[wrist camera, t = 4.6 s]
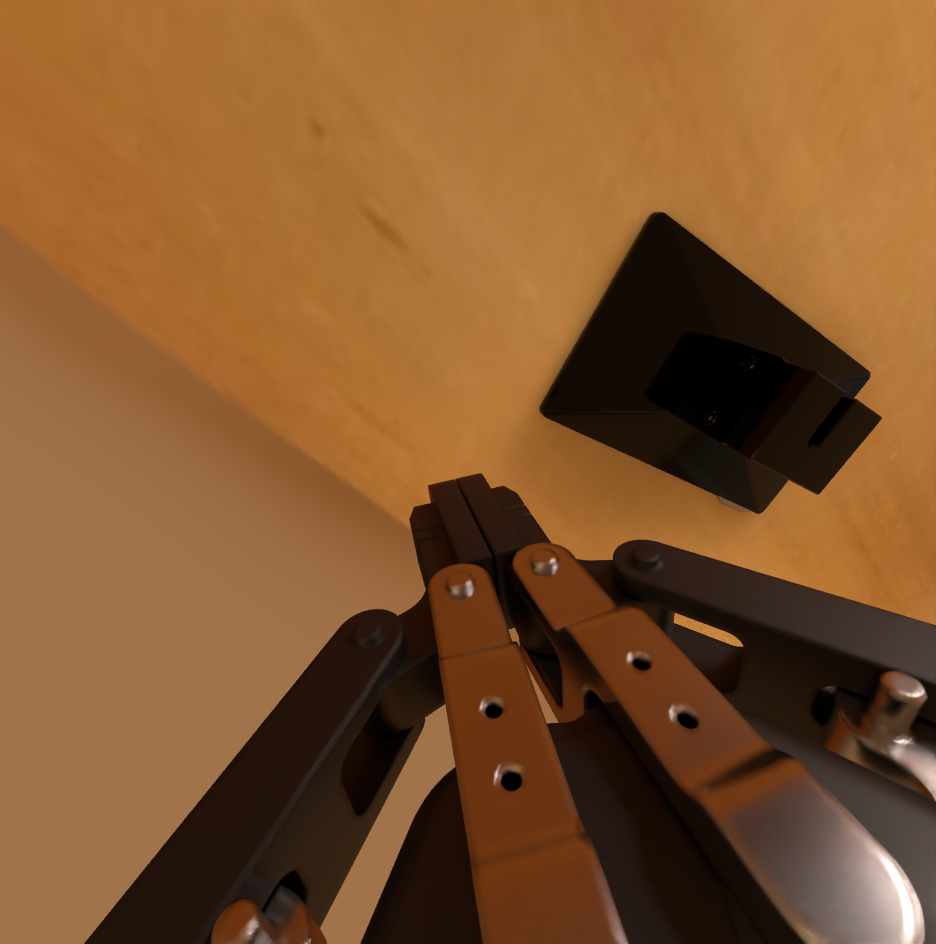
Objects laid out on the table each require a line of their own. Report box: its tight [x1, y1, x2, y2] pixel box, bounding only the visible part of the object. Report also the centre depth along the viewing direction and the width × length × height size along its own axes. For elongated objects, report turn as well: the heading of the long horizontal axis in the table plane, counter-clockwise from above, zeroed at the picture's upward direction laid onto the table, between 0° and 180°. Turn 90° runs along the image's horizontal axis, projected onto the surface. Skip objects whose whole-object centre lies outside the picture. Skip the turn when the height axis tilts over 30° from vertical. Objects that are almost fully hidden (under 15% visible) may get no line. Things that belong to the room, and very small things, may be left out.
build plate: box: [539, 212, 882, 514], centre depth 17 cm, size 12×7×5 cm, turn 63°
